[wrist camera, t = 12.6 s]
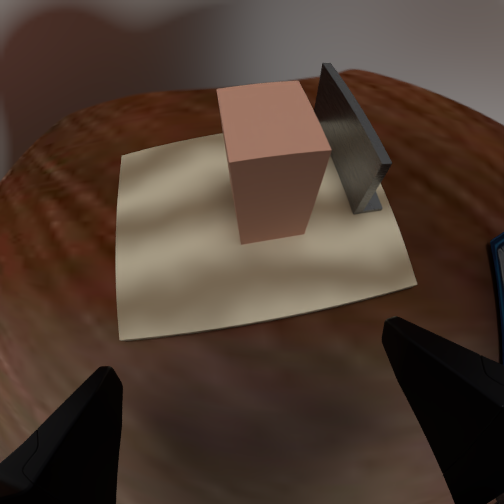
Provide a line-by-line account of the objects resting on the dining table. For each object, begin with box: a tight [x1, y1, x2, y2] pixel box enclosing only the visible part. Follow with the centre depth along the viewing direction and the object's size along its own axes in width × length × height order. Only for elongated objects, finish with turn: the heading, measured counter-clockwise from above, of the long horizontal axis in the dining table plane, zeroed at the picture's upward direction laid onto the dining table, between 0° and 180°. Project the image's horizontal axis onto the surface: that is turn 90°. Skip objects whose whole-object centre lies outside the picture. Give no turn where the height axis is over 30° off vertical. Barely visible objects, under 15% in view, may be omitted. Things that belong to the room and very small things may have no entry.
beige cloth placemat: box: [116, 133, 417, 341], centre depth 24 cm, size 18×24×1 cm
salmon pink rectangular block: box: [217, 81, 332, 245], centre depth 19 cm, size 6×5×10 cm
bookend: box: [314, 63, 392, 215], centre depth 22 cm, size 12×3×7 cm, turn 10°
